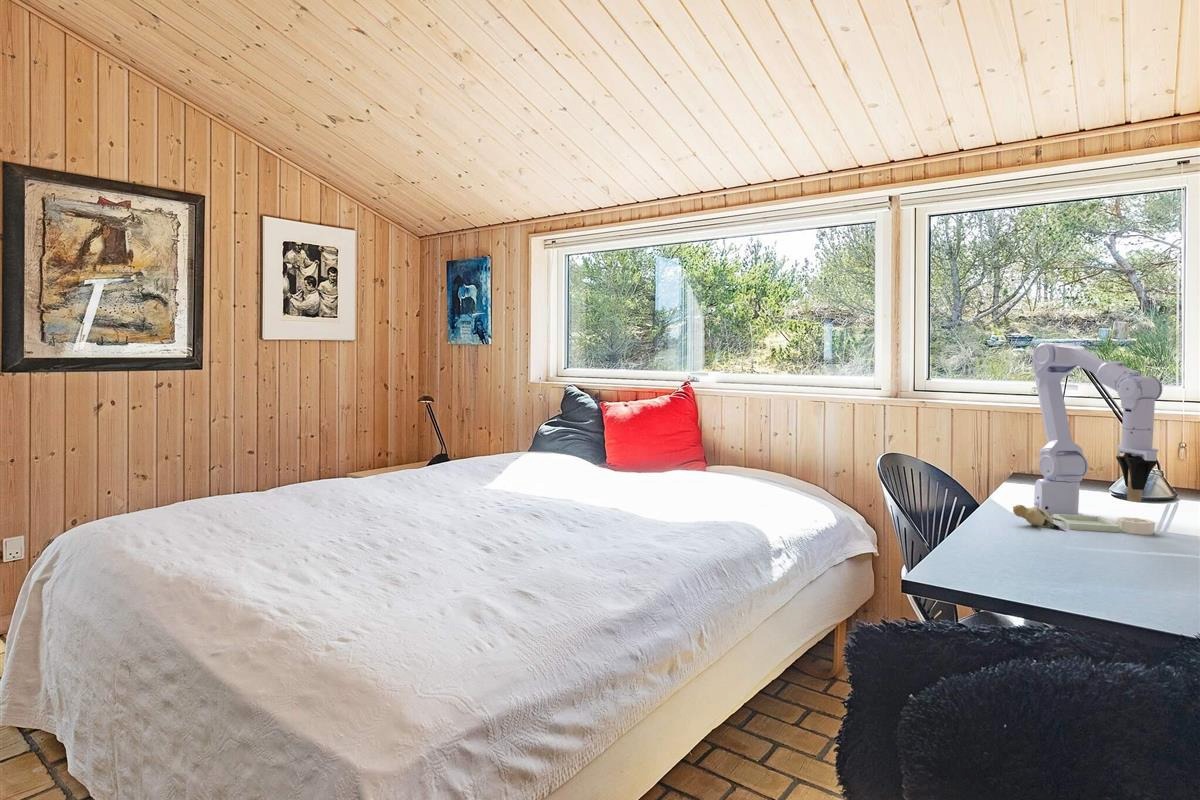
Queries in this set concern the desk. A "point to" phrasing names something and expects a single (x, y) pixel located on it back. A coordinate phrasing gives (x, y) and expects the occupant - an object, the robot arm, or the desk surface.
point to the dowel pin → (1133, 492)
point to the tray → (1086, 523)
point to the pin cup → (1136, 525)
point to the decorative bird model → (1036, 517)
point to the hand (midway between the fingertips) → (1134, 488)
